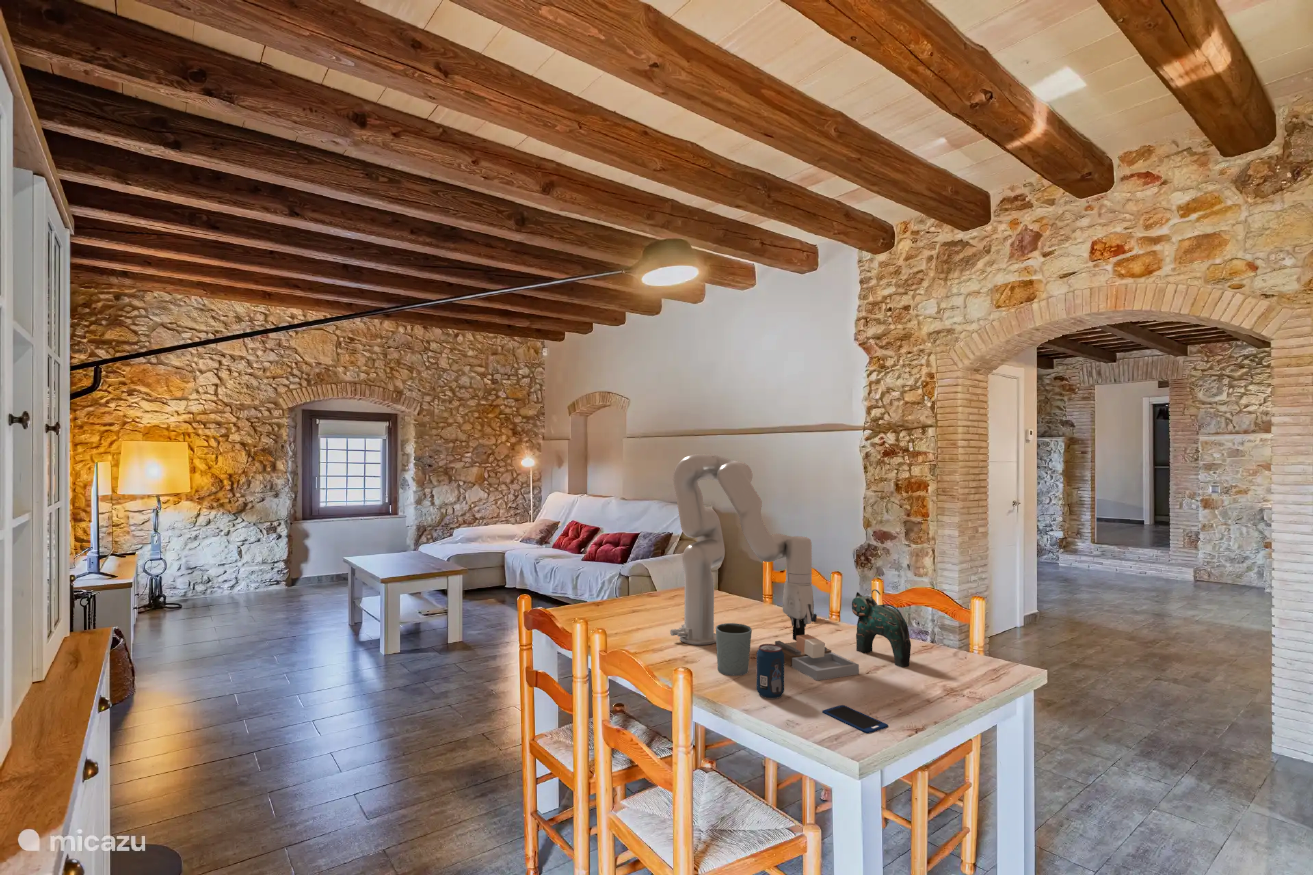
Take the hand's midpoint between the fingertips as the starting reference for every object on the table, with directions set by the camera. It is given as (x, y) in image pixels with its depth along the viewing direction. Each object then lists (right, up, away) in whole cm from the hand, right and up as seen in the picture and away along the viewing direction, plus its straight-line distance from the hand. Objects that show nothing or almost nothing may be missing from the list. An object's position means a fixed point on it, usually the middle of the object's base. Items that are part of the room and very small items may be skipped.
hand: (798, 639), depth 198 cm
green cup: (-21, -5, -13) cm, 25 cm away
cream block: (+3, -2, -7) cm, 8 cm away
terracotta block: (+1, -2, -4) cm, 4 cm away
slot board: (0, -5, -1) cm, 5 cm away
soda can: (-14, -5, -30) cm, 33 cm away
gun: (+11, -6, +46) cm, 48 cm away
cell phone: (+3, -5, -45) cm, 45 cm away
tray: (+5, -5, -12) cm, 14 cm away
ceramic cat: (+25, -6, 0) cm, 25 cm away
